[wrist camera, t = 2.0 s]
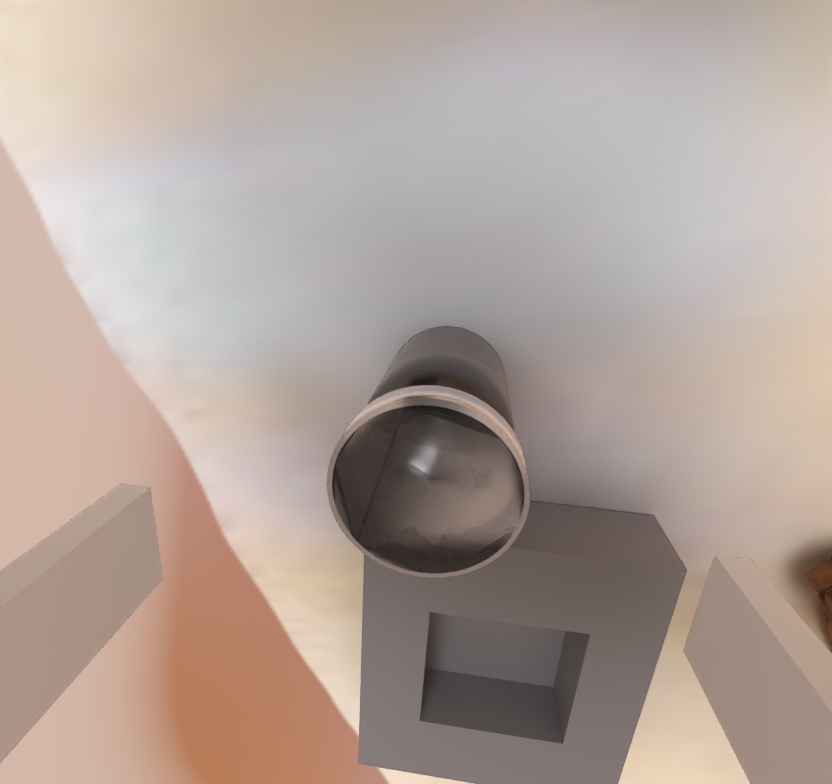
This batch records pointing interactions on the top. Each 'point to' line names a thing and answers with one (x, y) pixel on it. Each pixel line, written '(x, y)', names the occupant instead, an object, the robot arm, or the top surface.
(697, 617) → the robot arm
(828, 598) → the wooden carving
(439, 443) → the lens
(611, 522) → the grey recessed frame block
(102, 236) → the top surface
